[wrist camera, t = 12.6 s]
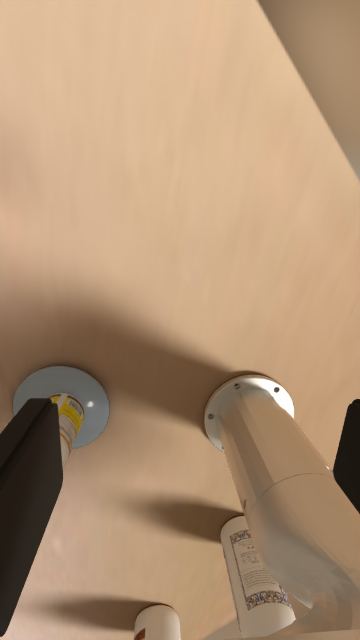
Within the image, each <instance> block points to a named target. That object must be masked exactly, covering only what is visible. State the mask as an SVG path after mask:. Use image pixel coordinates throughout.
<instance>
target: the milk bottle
mask: <svg viewBox="0 0 360 640" xmlns="http://www.w3.org/2000/svg"><path fill="white" fill-rule="evenodd" d="M134 640H181V639H180V624H179V617H178V615H177V613H176V611H175V610H174V609H173V608H171V607H168V606H164V605H155V606H150V607H148V608H146V609H144V610H142V611H141V612H140V613H139V615H138V616H137V619H136V621H135V631H134Z"/></svg>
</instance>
